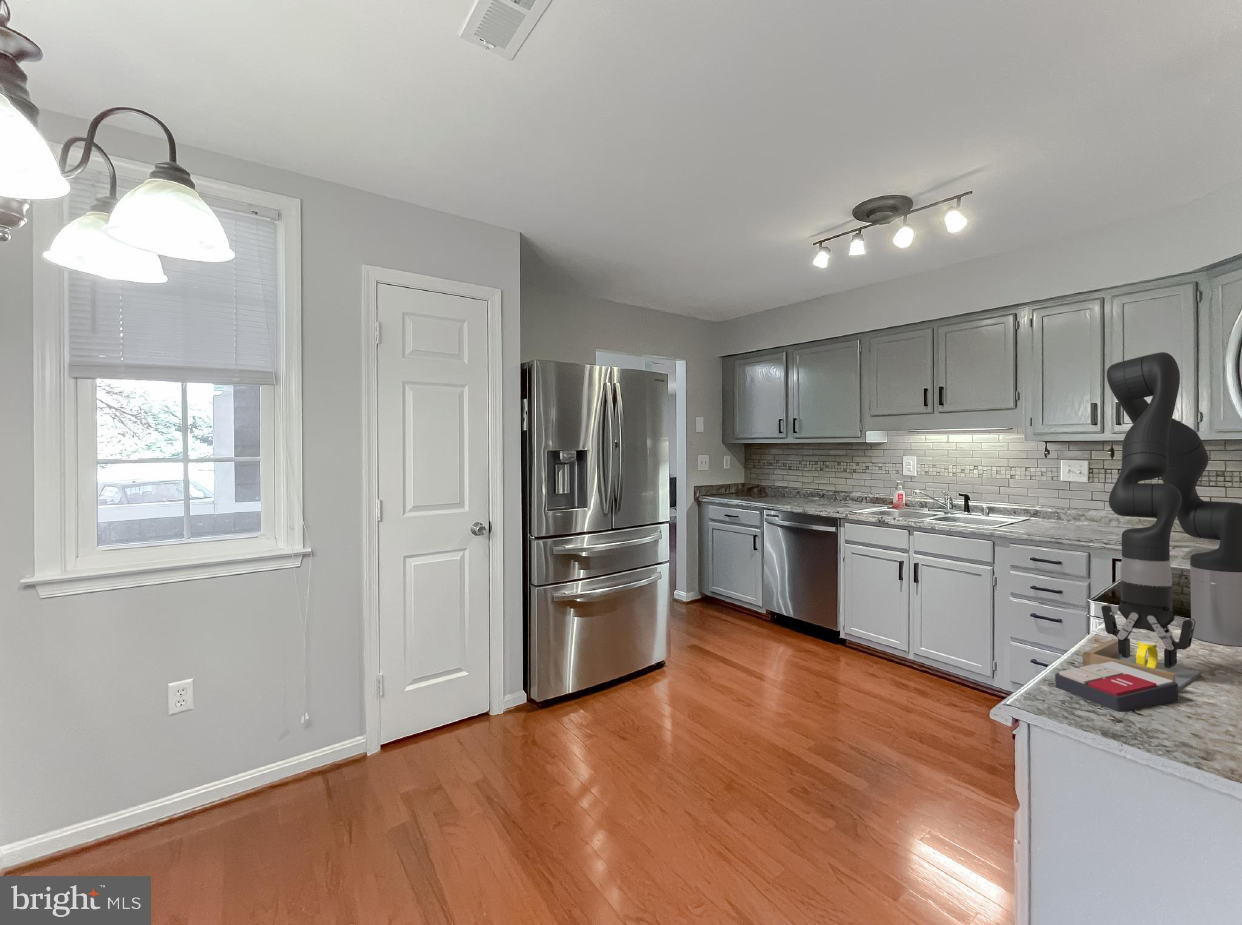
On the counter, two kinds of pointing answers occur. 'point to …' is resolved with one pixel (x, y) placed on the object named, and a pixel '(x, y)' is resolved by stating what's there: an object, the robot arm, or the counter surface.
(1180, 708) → the counter surface
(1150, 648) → the watch
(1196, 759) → the counter surface
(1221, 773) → the counter surface
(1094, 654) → the corner tray
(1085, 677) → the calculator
